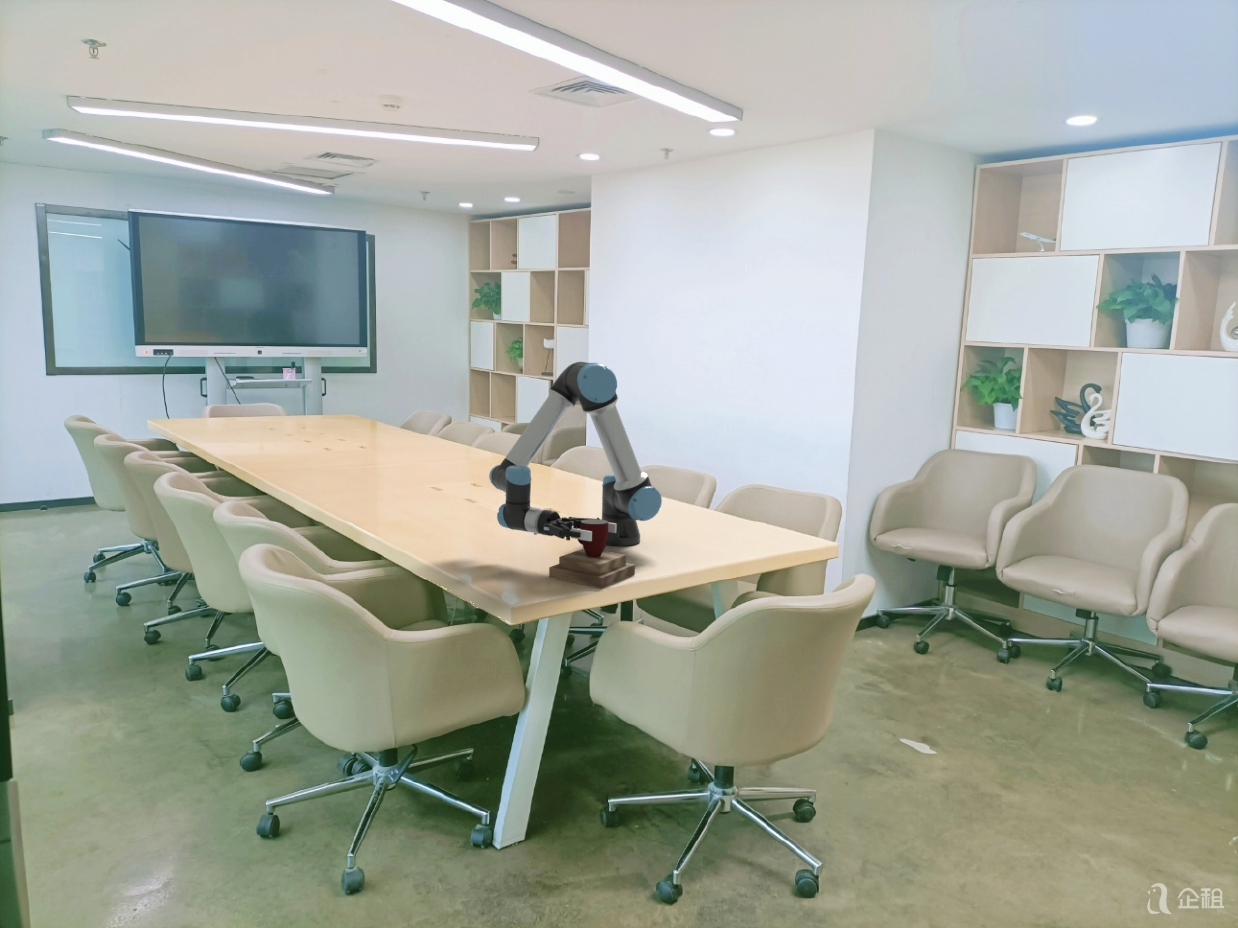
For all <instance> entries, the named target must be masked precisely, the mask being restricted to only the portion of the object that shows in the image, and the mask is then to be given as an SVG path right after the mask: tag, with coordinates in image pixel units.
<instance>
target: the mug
mask: <svg viewBox="0 0 1238 928" xmlns="http://www.w3.org/2000/svg"><path fill="white" fill-rule="evenodd" d="M599 519H600V518H599ZM599 519H597V518H592V519H588V520H582V521H581V527H580V529H581V530H587V531H592V541H586V540H580V539H577V541H578V543H579V544H580V545H581V546H582V549H584V550H585V552H586V554H587V556H589V557H599V556H601V554H602V553H603V551H605V548H606V546H607V544H606V541H607V535H608V521H606V520H601V519H600V520H599Z"/></svg>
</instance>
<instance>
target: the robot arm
mask: <svg viewBox="0 0 1238 928" xmlns="http://www.w3.org/2000/svg"><path fill="white" fill-rule="evenodd" d="M617 389H618V380H617V377H616V374H615V372H613V370H612V369H611V368H609V367H608V366H607V365H604V364H602V363H599V362H585V361H576V362H574V363H571V364H569V365H568V366H566V368H565V369H564V370H563V371H562V372H561V373H560V374H559V376H558V377H557V378H556V380H555V381H554V382H553V383H552V385H551V387H550V388H549V390H548V396H547V398H546V399H545V401H544V402H543V403H542V405H541V407H540V408H539V409H538V411H537V412H536V414H535V415H534V416H533V417H532V419H531V420H530V422H529V423H528V425H527V426H526V428H524V431H523V432H522V433H521V434H520V436H519V438H518V439H517V440H516V441H515V443H514V445H513V446H512V447H511V449H510V450H509V451H508V454H506V456H505V458H504V459H503V460H502V461H501V463H500V464H497V465H495V466H494V467H493V468H491V469H490V471H489V476H488V477H489V480H490V481H489V482H490V483H491V484H492V486H493V487H495V488H496V489H497V490H500V491H502V492H504V493H505V503H503V504H501V505H500V506H499V508H498V512H497V515H496V518H497V522H498V524H499V525H500V526H501V527H502V528H505V529H510V530H514V531H521V532H528V533H533V535H535V536H536V535H543V536H547V537H548V536H549V537H553V536H554V537H557V538H559V539H562V540H564V539H565V541H571V539H575V540H578V539H580V540H586V541H592V531H587V530H581V529H580V527H581V521H582V520H588V519H593V517H592V518H587V517H574V516H568V517H565V516H564V517H561V516H560V514H559V513H558V511H555V510H552V509H551V510H550V509H545V508H538V507H531V490H532V488H531V487H532V486H531V485H532V473H531V469H530V467H529V466H530V464H531V462H532V461H533V460H534V458H535V457H536V456H537V454H538V453H539V451H540V450H541V448H542V447H543V446H544V444H545V443H546V441H547V439H548V438H549V437H550V436H551V434H552V433H553V431H554V430H555V428H556V427H557V426H558V424H559V423H560V421H561V420H562V419H563V417H564V416H565V414H566V413H567V412H568V410H569V409H574V408H575V406H576V404H577V403H578V402H579V403H580V406H581V409H582V411H583V412H584V413H586V414H589V416H590V418H591V420H592V424H593V425H594V429H595V430H596V433H597V436H598V438H599V441H600V444H601V446H602V449H603V450H604V453H605V456H606V458H607V461H608V463H609V466H610V468H611V470H612V471H611V472H612V473H613V474H606V475H605V476H603V478H602V479H603V480H602V485H601V488H602V494H601V495H602V497H601V498H602V499H601V501H602V503H601V504H602V505H601V506H602V507H601V518H600V517H596V519H599V520H606V521H608V535H607V541H606V546H607V545H608V546H617V547H618V546H634V545H637V544H640V542H641V533H640V529H639V526H638V523H637V521H639V522H645V521H646V522H647V521H649V520H651V519H653V518H654V517H656V515H657V514H658V513H659V511H660V508H661V507H662V503H663V502H662V501H663V500H662V498H663V497H662V496H661V493H660V491H659V490H658V489H657V487H655V486H653V485H652V482H651V480H650V478H649V475H648V473H647V472H645V471H643V470H641V467H640V465H639V462H638V460H637V457H636V455H635V452H634V449H633V447H632V444H631V442H630V439H629V436H628V434H627V431H626V429H625V427H624V424H623V421H622V418H621V416H620V414H619V410H618V408H617V406H616V404H617V402H618V399H619V397H618V395H617Z"/></svg>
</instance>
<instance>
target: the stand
mask: <svg viewBox="0 0 1238 928" xmlns="http://www.w3.org/2000/svg"><path fill="white" fill-rule="evenodd" d="M635 571H636V564H633V563H628V562H627V555H626V554H623V553H618V552H617V553H616V552H612V551H607V550H604V551H603V553H602V554H601V556H599V557H589V556H587V554H586V552H585V550H584V548H581V549H578V550H575V551H572V552H569V553H566V554H564V555H560V556H559V557H558V563H557V564H554V565H552V566H549V568H548V577H549V578H550V579H554V578H555V580H559V579H560V580H559V581H564V582H570V583H573V582H574V583H575V584H578V585H583V586H586V587H587V586H589V587H593V588H596V589H597V588H598V589H603V588H606V587H609V586H611V585H614V584H616V583H618V582H621V581H622V580H625V579H628V578H630V577H632V576H634V575H635V574H636V572H635Z"/></svg>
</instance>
